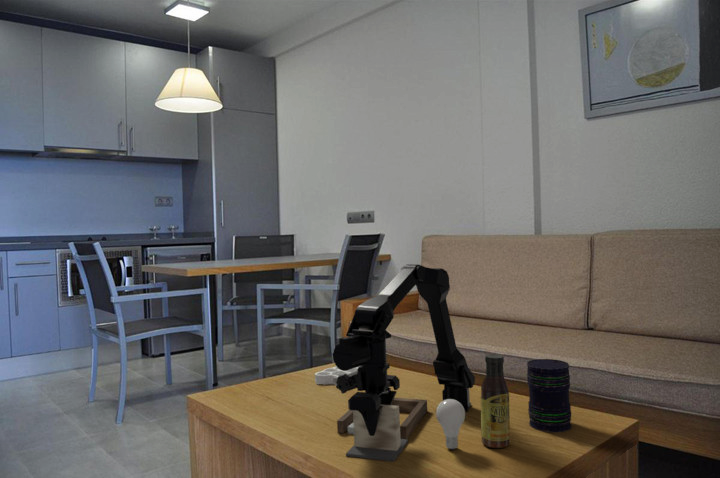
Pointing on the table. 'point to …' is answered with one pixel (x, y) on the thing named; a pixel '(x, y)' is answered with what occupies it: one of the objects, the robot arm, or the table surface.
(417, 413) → the frame
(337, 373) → the knuckle duster
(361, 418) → the pale wooden block
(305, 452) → the table surface
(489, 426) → the sauce bottle
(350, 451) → the mat
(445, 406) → the lightbulb
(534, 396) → the dark blue cylinder
